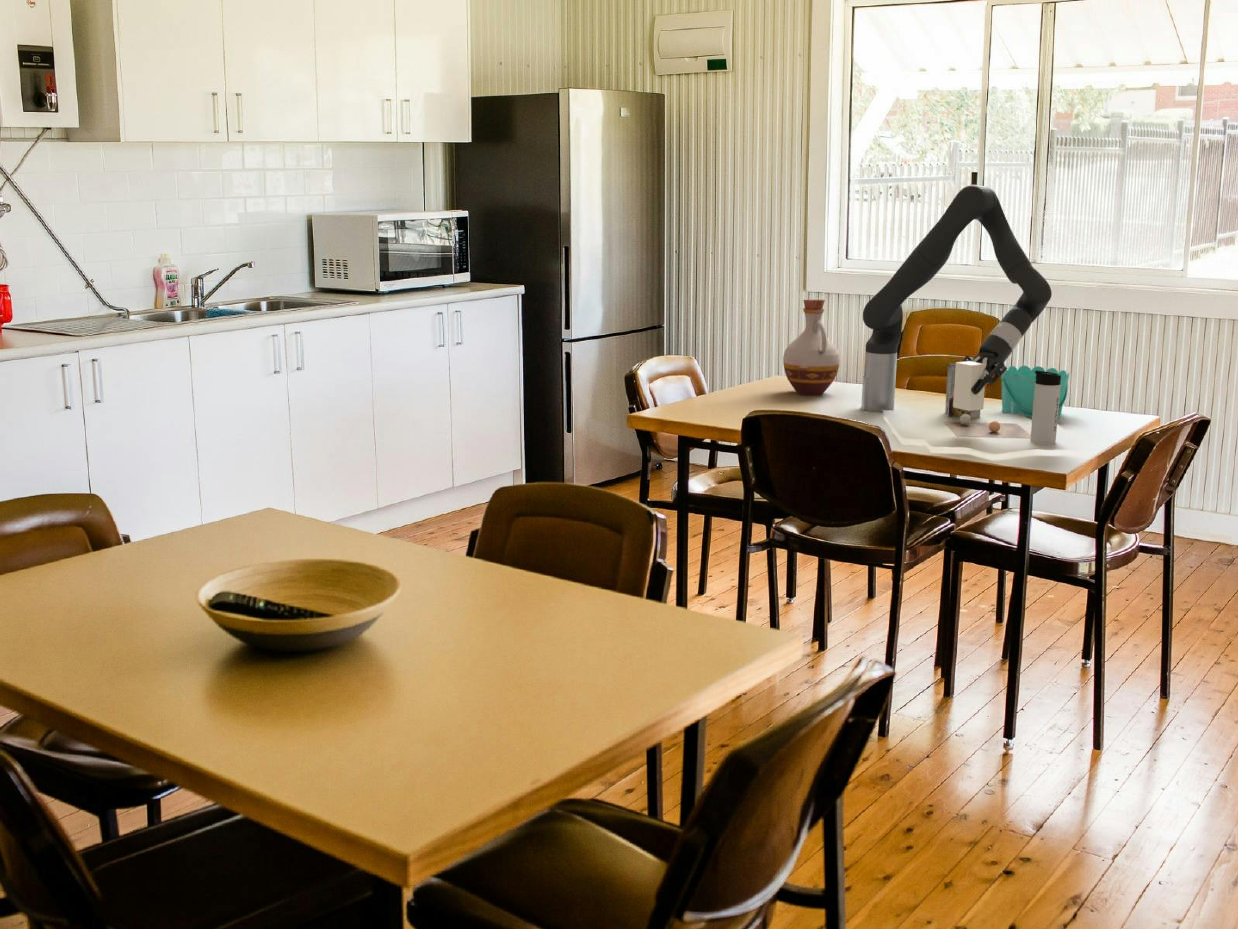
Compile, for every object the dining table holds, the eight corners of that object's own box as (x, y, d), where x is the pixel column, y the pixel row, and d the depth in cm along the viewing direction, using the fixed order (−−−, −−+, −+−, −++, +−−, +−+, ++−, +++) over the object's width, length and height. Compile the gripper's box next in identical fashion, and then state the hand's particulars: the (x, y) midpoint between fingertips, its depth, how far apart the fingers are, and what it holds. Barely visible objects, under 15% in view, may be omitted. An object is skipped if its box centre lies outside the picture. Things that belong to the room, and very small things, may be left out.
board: (956, 441, 342) (957, 436, 342) (943, 427, 362) (944, 421, 361) (1034, 443, 341) (1034, 438, 340) (1016, 428, 360) (1017, 423, 360)
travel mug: (1024, 444, 340) (1031, 368, 335) (1049, 444, 340) (1055, 368, 336) (1034, 449, 334) (1040, 372, 329) (1059, 449, 334) (1065, 372, 330)
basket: (1063, 409, 390) (1067, 367, 387) (1068, 420, 373) (1072, 376, 370) (997, 406, 395) (1000, 364, 392) (999, 417, 378) (1002, 373, 375)
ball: (989, 433, 346) (990, 422, 346) (987, 430, 349) (988, 419, 349) (1000, 433, 346) (1001, 422, 346) (998, 431, 349) (999, 420, 349)
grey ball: (960, 425, 356) (961, 415, 355) (958, 423, 359) (959, 413, 358) (971, 426, 355) (972, 415, 355) (969, 424, 358) (970, 413, 358)
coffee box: (976, 418, 374) (980, 363, 371) (979, 422, 368) (984, 366, 365) (943, 417, 375) (947, 362, 372) (947, 422, 369) (950, 365, 365)
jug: (849, 398, 405) (854, 301, 398) (795, 400, 401) (799, 302, 394) (825, 388, 424) (829, 295, 417) (773, 389, 420) (777, 296, 413)
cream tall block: (967, 405, 348) (969, 361, 345) (983, 409, 342) (986, 364, 340) (953, 407, 345) (955, 362, 343) (969, 410, 340) (972, 365, 337)
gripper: (974, 330, 349) (938, 377, 346) (1014, 336, 337) (977, 385, 334) (987, 349, 353) (952, 395, 350) (1027, 355, 341) (991, 404, 338)
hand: (964, 390), depth 342 cm, fingers closed on cream tall block, 6 cm apart
